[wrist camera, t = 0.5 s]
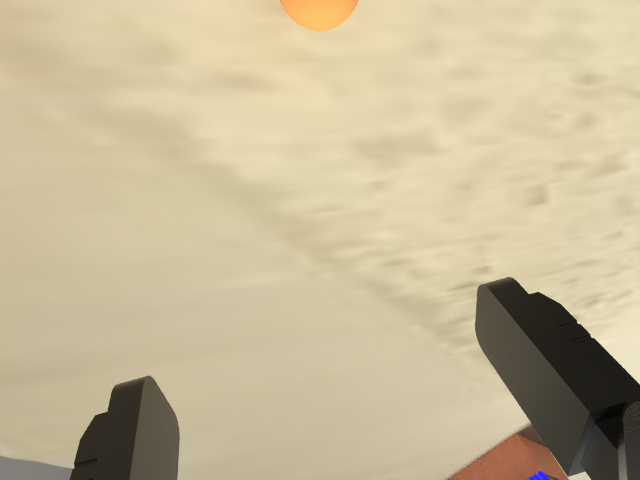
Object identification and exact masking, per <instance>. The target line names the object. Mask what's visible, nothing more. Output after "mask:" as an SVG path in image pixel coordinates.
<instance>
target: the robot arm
mask: <svg viewBox="0 0 640 480" xmlns="http://www.w3.org/2000/svg"><path fill="white" fill-rule="evenodd" d="M475 330H476V336H477V339H478V342H479V344H480V347H481V349H482V350H483V352H484V354H485V355H486V357H487V358H488V360H489V361H490V362H491V364H492V365H493V367H494V368H495V370H496V371H497V373H498V374H499V376H500V377H501V379H502V380H503V382H504V383H505V385H506V386H507V388H508V389H509V391H510V392H511V393H512V395H513V396H514V398H515V399H516V401H517V402H518V404H519V405H520V407H521V408H522V410H523V411H524V413H525V414H526V416H527V417H528V419H529V420H530V422H531V423H532V424H533V426H534V427H535V429H536V430H537V432H538V433H539V435H540V436H541V438H542V439H543V441H544V442H545V444H546V445H547V447H548V448H549V450H550V451H551V453H552V454H553V455H554V457H555V458H556V460H557V461H558V463H559V464H560V466H561V467H562V469H563V470H564V472H565V473H566V475H567V476H568V477H569V476H572V475H575V474H578V473H581V472H584V471H586V473H587V474H588V475H589V477H590V478H591V480H640V384H639V383H638V382H637V381H636V380H635V379H634V378H633V377H632V376H631V375H630V374H629V373H628V372H627V371H626V370H625V369H624V368H623V367H622V366H621V365H620V364H619V363H618V362H617V361H616V360H615V359H614V358H613V357H612V356H611V355H610V354H609V353H608V352H607V351H606V350H605V349H604V348H603V347H602V346H601V345H600V344H599V343H598V342H597V341H596V340H595V339H594V338H591V336H590V334H589V333H588V331H587V330H586V329H585V328H584V327H583V326H582V325H581V324H578V323H577V320H576V319H575V318H574V317H573V316H572V315H571V314H570V313H569V312H568V311H567V310H566V309H565V308H564V307H563V306H562V305H561V304H560V303H558V302H556V301H554V300H552V299H550V298H549V297H547V296H545V295H543V294H541V293H539V292H536V293H533V294H528V293H527V292H526V291H525V290H524V288H523V287H522V286H521V285H520V284H519V283H518V282H517V281H516V280H515V279H513V278H511V277H507V278H504V279H500V280H496V281H493V282H489V283H486V284H482V285H480V286H479V287H478V291H477V306H476V322H475ZM178 456H179V426H178V421H177V418H176V415H175V413H174V411H173V409H172V407H171V406H170V404H169V403H168V401H167V399H166V398H165V396H164V395H163V393H162V391H161V390H160V388H159V387H158V385H157V383H156V382H155V380H154V379H153V378H152V377H151V376H146V377H142V378H139V379H135V380H131V381H128V382H124V383H121V384H117V385H115V386H114V388H113V390H112V393H111V398H110V402H109V407H108V412H105V413H102V414H98V415H95V417H94V418H93V420H92V421H91V423H90V425H89V426H88V428H87V430H86V431H85V433H84V434H83V436H82V438H81V439H80V443H79V447H78V450H77V454H76V458H75V462H74V466H75V468H74V469H73V470H72V474H71V478H70V480H177V473H178Z"/></svg>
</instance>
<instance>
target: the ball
mask: <svg viewBox="0 0 640 480" xmlns="http://www.w3.org/2000/svg"><path fill="white" fill-rule="evenodd" d="M280 1H281V4H282V6H283V8H284V9H285V11H286V13H287V14H288V15H289V17H290V18H291V19H292V20H293V21H295V22H296V23H297V24H299V25H300V26H302V27H304V28H307V29H310V30H315V31H323V30H329V29H332V28H334V27H336V26H338V25H340V24H341V23H343V22H344V21H345V20H346V19H347V18H348V17H349V16H350V15H351V13H352V12H353V10H354V9H355V7H356V5H357V2H358V0H280Z"/></svg>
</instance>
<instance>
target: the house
mask: <svg viewBox="0 0 640 480" xmlns="http://www.w3.org/2000/svg"><path fill="white" fill-rule="evenodd" d="M448 480H569V479H568V478H567V476H566V475H565V473H564V472H563V470H562V469H561V467H560V466H559V464H558V463H557V461H556V460H555V458H554V457H553V455H552V454H551V452H550V451H549V449H548V448H547V447H545V446H543V445H541V444H538V443H536V442H534V441H532V440H530V439H528V438H525V437H523V436H521V435H519V434H517V433H516V434H514V435H513V436H511V437H510V438H508V439H507V440H505V441H504V442H502V443H501V444H499V445H498V446H497V447H495V448H494V449H492V450H491V451H489V452H488V453H486V454H485V455H483V456H482V457H481V458H479V459H478V460H476V461H475V462H473V463H472V464H470V465H469V466H467V467H466V468H464V469H463V470H462V471H460V472H459V473H457V474H456V475H454V476H453V477H451V478H450V479H448Z"/></svg>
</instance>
